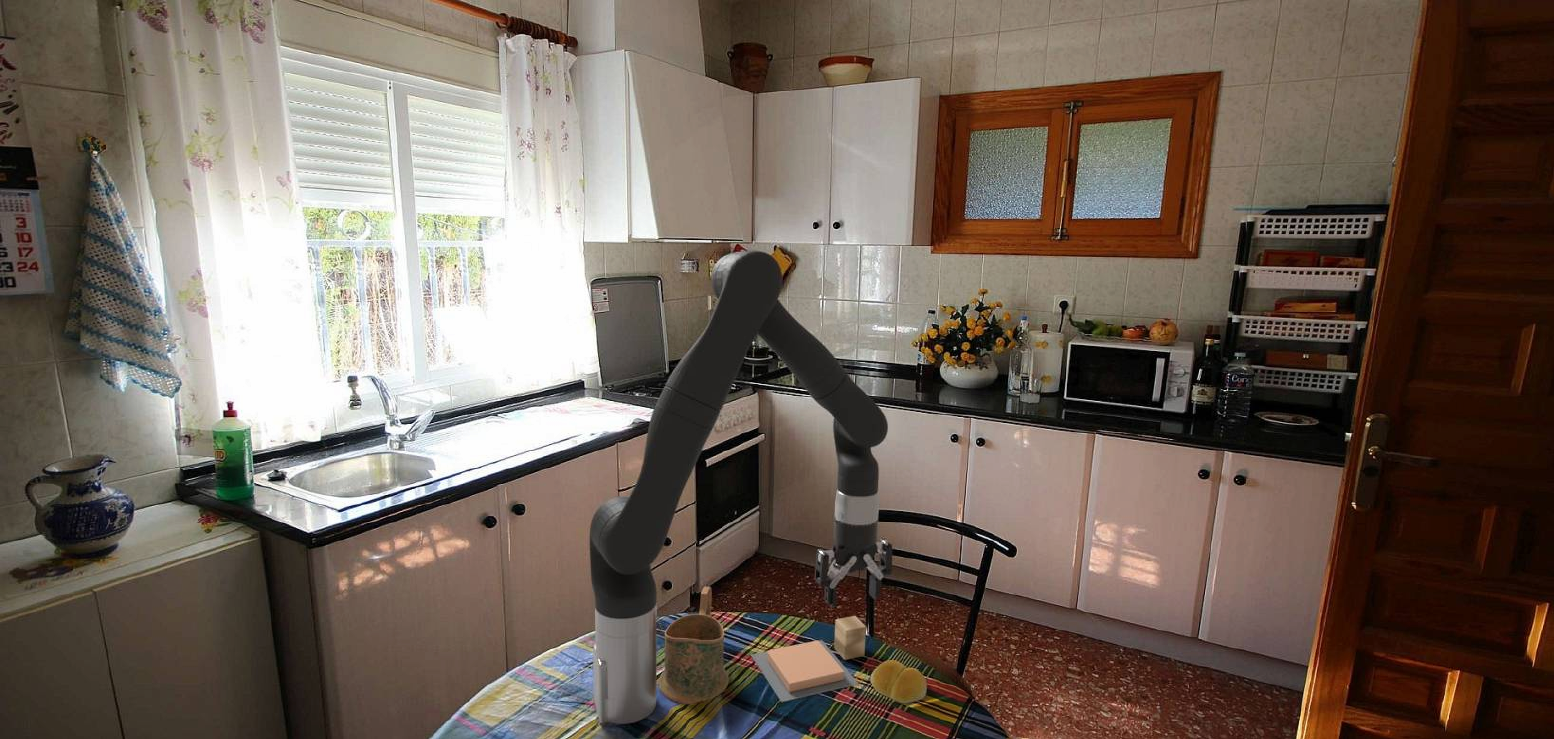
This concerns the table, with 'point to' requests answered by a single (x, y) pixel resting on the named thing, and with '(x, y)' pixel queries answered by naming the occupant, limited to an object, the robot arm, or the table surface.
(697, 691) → the mug
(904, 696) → the bread roll
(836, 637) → the block
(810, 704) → the table surface
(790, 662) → the tile
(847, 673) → the mat
